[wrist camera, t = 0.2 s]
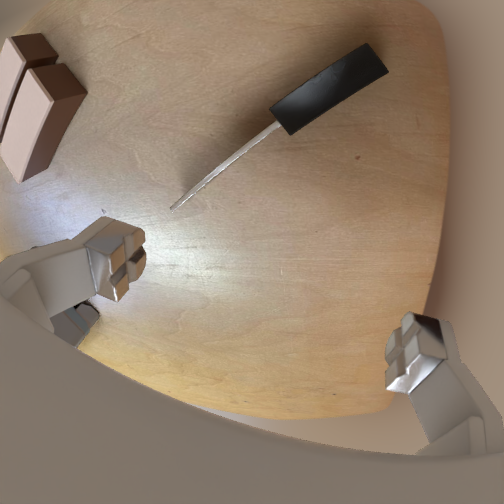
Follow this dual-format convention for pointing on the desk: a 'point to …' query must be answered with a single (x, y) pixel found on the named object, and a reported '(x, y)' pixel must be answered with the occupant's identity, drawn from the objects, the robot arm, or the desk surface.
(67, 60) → the desk surface
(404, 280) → the desk surface
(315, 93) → the knife
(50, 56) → the cake
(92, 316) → the toaster
